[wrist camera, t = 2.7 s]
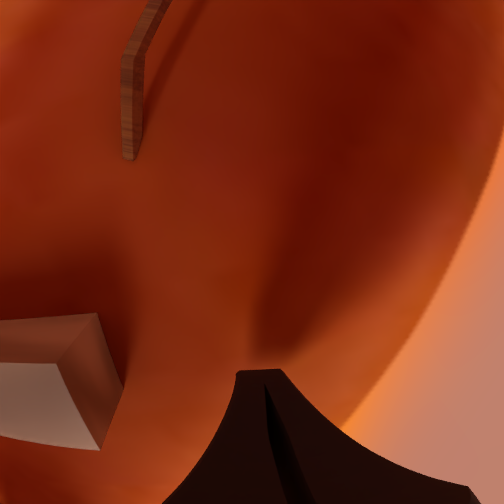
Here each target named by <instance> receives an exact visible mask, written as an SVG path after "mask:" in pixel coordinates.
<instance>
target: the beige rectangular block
mask: <svg viewBox="0 0 504 504" xmlns="http://www.w3.org/2000/svg"><path fill="white" fill-rule="evenodd" d="M123 390H124V389H123V386H122V384H121V381H120V378H119V376H118V373H117V371H116V368H115V365H114V362H113V360H112V357H111V354H110V351H109V348H108V345H107V342H106V339H105V336H104V333H103V330H102V327H101V324H100V321H99V317H98V314H97V313H87V314H76V315H65V316H53V317H40V318H27V319H13V320H0V436H5V437H9V438H14V439H19V440H24V441H29V442H34V443H40V444H47V445H53V446H61V447H69V448H77V449H88V450H101V447H102V444H103V442H104V439H105V436H106V434H107V431H108V428H109V426H110V423H111V420H112V418H113V415H114V413H115V410H116V407H117V405H118V402H119V400H120V397H121V395H122V392H123Z"/></svg>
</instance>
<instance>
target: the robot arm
mask: <svg viewBox="0 0 504 504" xmlns="http://www.w3.org/2000/svg"><path fill="white" fill-rule="evenodd" d="M162 504H481V503H480V502H479V500H478V499H477V497H476V496H475V495H474V493H473V492H472V491H471V489H470V488H469V487H468V486H464V485H459V484H455V483H451V482H447V481H443V480H438V479H435V478H431V477H428V476H425V475H422V474H420V473H417V472H414V471H412V470H409V469H407V468H404V467H402V466H400V465H397V464H395V463H393V462H391V461H389V460H387V459H385V458H383V457H381V456H379V455H377V454H376V453H374V452H372V451H370V450H369V449H367V448H365V447H363V446H362V445H361V444H359V443H358V442H356V441H355V440H353V439H352V438H350V437H349V436H348V435H346V434H345V433H344V432H342V431H341V430H340V429H339V428H337V427H336V426H335V425H334V424H333V423H331V422H330V421H329V420H328V419H327V418H326V417H325V416H323V415H322V414H321V413H320V412H319V411H318V410H317V409H316V408H315V407H314V406H313V405H312V404H311V403H310V402H309V401H308V400H307V399H306V398H305V397H304V396H303V394H302V393H301V392H300V391H299V390H298V389H297V388H296V387H295V385H294V384H293V383H292V382H291V381H290V379H289V378H288V377H287V376H286V374H285V373H284V372H283V371H282V370H281V369H265V370H241V371H238V372H237V373H236V381H235V386H234V390H233V394H232V397H231V400H230V403H229V405H228V408H227V410H226V413H225V415H224V418H223V420H222V422H221V424H220V426H219V428H218V430H217V432H216V434H215V436H214V437H213V439H212V441H211V443H210V444H209V446H208V448H207V449H206V451H205V452H204V454H203V455H202V457H201V458H200V460H199V461H198V462H197V464H196V465H195V466H194V468H193V469H192V470H191V472H190V473H189V474H188V476H187V477H186V478H185V479H184V481H183V482H182V483H181V484H180V485H179V486H178V487H177V488H176V489H175V491H174V492H173V493H172V494H171V495H170V496H169V497H168V498H167V499H166V500H165V501H164V502H163V503H162Z"/></svg>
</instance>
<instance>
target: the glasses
mask: <svg viewBox="0 0 504 504" xmlns="http://www.w3.org/2000/svg"><path fill="white" fill-rule="evenodd" d="M171 2H172V0H149V2H148V3H147V5H146V7H145V9H144V11H143V13H142V15H141V17H140V19H139V21H138V23H137V25H136V27H135V29H134V31H133V33H132V35H131V38H130V40H129V42H128V44H127V46H126V49H125V51H124V53H123V56H122V58H121V132H122V153H123V159H126V160H131V161H134V160H135V159H136V156H137V153H138V149H139V146H140V142H141V139H142V116H143V83H144V64H145V53H146V51H147V49H148V47H149V45H150V43H151V41H152V38H153V36H154V34H155V32H156V30H157V28H158V26H159V24H160V22H161V20H162V18H163V16H164V14H165V12H166V11H167V9H168V7H169V5H170V3H171Z"/></svg>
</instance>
